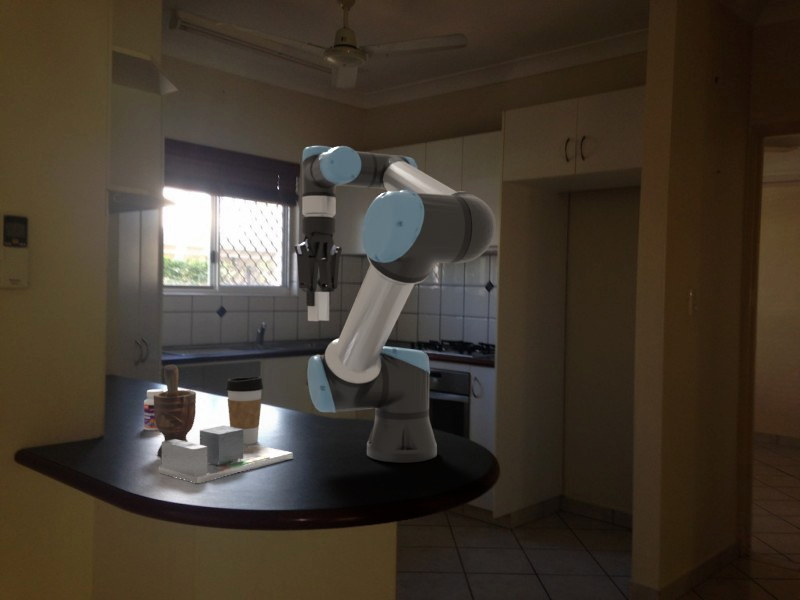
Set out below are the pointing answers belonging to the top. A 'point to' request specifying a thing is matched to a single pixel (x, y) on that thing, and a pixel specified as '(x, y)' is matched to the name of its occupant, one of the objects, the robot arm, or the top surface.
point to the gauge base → (194, 467)
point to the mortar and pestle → (174, 408)
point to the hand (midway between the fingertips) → (318, 320)
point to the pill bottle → (150, 410)
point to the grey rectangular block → (222, 444)
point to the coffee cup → (245, 406)
